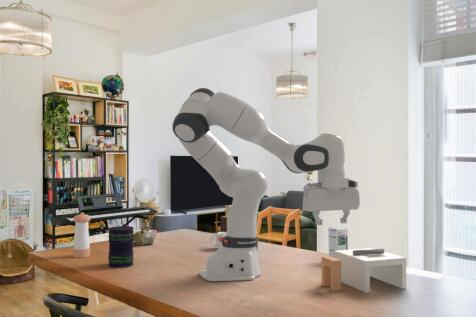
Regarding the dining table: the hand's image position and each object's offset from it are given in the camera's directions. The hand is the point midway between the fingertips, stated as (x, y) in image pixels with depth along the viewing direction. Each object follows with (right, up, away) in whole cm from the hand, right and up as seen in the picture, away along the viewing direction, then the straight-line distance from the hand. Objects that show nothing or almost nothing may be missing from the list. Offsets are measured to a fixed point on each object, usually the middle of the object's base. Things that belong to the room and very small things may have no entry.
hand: (331, 224), depth 140 cm
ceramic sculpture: (-80, -23, +74) cm, 111 cm away
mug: (-39, -23, +65) cm, 79 cm away
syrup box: (+11, -22, +38) cm, 45 cm away
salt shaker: (-100, -22, +46) cm, 112 cm away
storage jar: (-78, -21, +29) cm, 86 cm away
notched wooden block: (0, -21, 0) cm, 21 cm away
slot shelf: (+14, -21, +5) cm, 26 cm away
